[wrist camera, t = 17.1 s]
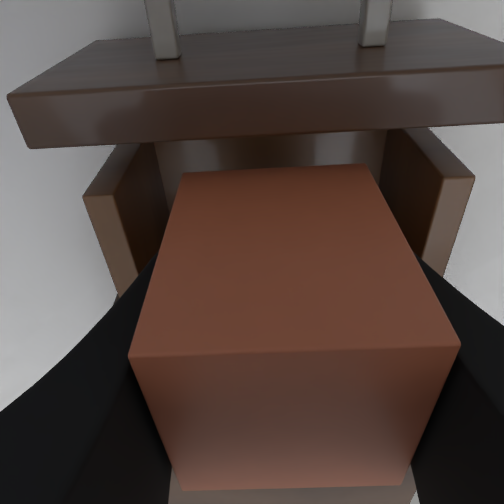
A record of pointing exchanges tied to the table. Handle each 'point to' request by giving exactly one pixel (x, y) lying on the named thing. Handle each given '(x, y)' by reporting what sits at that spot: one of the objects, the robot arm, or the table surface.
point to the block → (289, 333)
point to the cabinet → (298, 493)
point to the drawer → (268, 117)
